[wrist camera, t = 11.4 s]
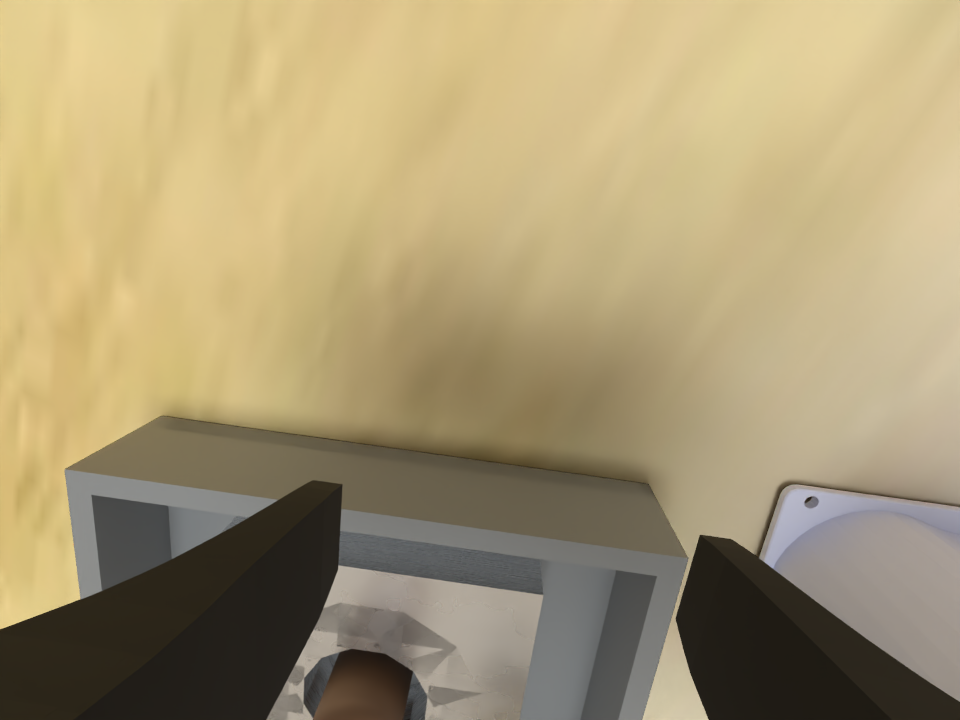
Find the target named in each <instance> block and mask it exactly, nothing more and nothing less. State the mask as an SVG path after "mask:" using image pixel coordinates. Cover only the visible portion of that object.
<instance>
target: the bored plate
mask: <svg viewBox="0 0 960 720" xmlns="http://www.w3.org/2000/svg"><path fill="white" fill-rule="evenodd" d="M247 518H249V517H243V516H236V517H235V518H234V519H233V520H232V522H231V523H230V524H229V525H228V526H227V527H226V528H225V529H224V530H223V531H222V532H224V531H226V530H228V529H230V528H231V527H233V526H235V525H237V524H238V523H240V522H242V521H244V520H245V519H247ZM222 532H221V533H222ZM542 600H543V585H542V574H541V563H540V559H535V558H528V557H521V556H514V555H507V554H500V553H493V552H486V551H479V550H472V549H465V548H458V547H451V546H444V545H437V544H430V543H423V542H417V541H410V540H403V539H396V538H389V537H382V536H375V535H368V534H361V533H354V532H347V531H340V544H339V563H338V571H337V574H336V577H335V579H334V582H333V585H332V587H331V590H330V593H329V595H328V598H327V600H326V603H325V605H324V608H323V611H322V613H321V616H320V618H319V620H318V622H317V624H316V626H315V628H314V630H313V632H312V634H311V636H310V638H309V639H308V641H307V643H306V645H305V647H304V649H303V651H302V653H301V655H300V657H299V659H298V661H297V663H296V664H295V666H294V668H293V670H292V672H291V674H290V676H289V678H288V680H287V681H286V683H285V685H284V687H283V689H282V691H281V693H280V695H279V697H278V699H277V700H276V702H275V704H274V706H273V708H272V710H271V712H270V714H269V716H268V718H267V719H266V720H313V718H314V715H315V713H316V710H317V708H318V705H319V703H320V700H321V697H322V695H323V692H324V690H325V687H326V685H327V682H328V680H329V677H330V675H331V672H332V670H333V667H334V665H335V663H334V661H333V660H332V658H331V656H330V655H332V654H335V653H339V652H342V651H345V650H349V649H358V650H364V651H371V652H378V653H385V654H387V655H388V656H390V657H392V658H393V659H395V660H396V661H398V662H399V663H401V664H403V665H404V666H406V667H407V668H409V669H410V670H412V671H414V673H415V675H416V677H417V679H418V680H419V682H418V683H415V684H412V685H410V689H409V694H408V699H407V703H406V708H405V713H404V718H403V720H519V718H520V713H521V708H522V703H523V698H524V693H525V688H526V683H527V677H528V672H529V667H530V662H531V657H532V652H533V647H534V641H535V636H536V631H537V626H538V621H539V616H540V611H541V606H542Z"/></svg>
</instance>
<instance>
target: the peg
mask: <svg viewBox="0 0 960 720" xmlns="http://www.w3.org/2000/svg"><path fill="white" fill-rule="evenodd" d="M412 675H413V671H412V670H410V669H409V668H407V667H406V666H404V665H403V664H401V663H399V662H398V661H396V660H395V659H393V658H392V657H390V656H388V655H387V654H385V653H378V652H371V651H364V650H358V649H349V650H345V651H342V652H339V654H338V657H337V659H336V662H335V665H334V667H333V670H332V672H331V675H330V677H329V680H328V682H327V685H326V687H325V690H324V692H323V695H322V697H321V700H320V703H319V705H318V708H317V710H316V713H315V715H314V718H313V720H403V718H404V713H405V708H406V703H407V699H408V694H409V689H410V685H411V680H412Z"/></svg>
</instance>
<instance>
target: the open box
mask: <svg viewBox="0 0 960 720" xmlns="http://www.w3.org/2000/svg"><path fill="white" fill-rule="evenodd" d="M65 477H66V485H67V493H68V501H69V509H70V517H71V525H72V533H73V541H74V549H75V557H76V565H77V573H78V581H79V589H80V597H81V599H83V598H86V597H88V596H91V595H93V594H96V593H98V592H100V591H103V590H105V589H107V588H110V587H112V586H114V585H117V584H119V583H121V582H123V581H126V580H128V579H130V578H133V577H135V576H137V575H139V574H142V573H144V572H146V571H148V570H150V569H152V568H154V567H157V566H159V565H161V564H163V563H165V562H167V561H169V560H171V559H173V558H175V557H177V556H179V555H181V554H183V553H185V552H186V551H188V550H190V549H192V548H194V547H196V546H198V545H200V544H202V543H203V542H205V541H207V540H209V539H211V538H213V537H215V536H217V535H219V534H220V533H221V532H222V531H223V530H224V529H225V528H226V527H227V526H228V525H229V524H230V523H231V522H232V520H233V519H234V518H235V517H236V516H243V517H250V516H252V515H254V514H255V513H257V512H259V511H261V510H262V509H264V508H266V507H267V506H269V505H271V504H272V503H274V502H276V501H277V500H279V499H281V498H282V497H284V496H286V495H287V494H289V493H291V492H292V491H294V490H296V489H298V488H299V487H301V486H303V485H304V484H306V483H308V482H310V481H312V480H317V481H324V482H331V483H338V484H343V486H342V505H341V525H340V531H347V532H354V533H361V534H368V535H375V536H382V537H389V538H396V539H403V540H410V541H417V542H423V543H430V544H437V545H444V546H451V547H458V548H465V549H472V550H479V551H486V552H493V553H500V554H507V555H514V556H521V557H528V558H535V559H540V563H541V574H542V585H543V600H542V606H541V611H540V616H539V621H538V626H537V631H536V636H535V641H534V647H533V652H532V657H531V662H530V667H529V672H528V677H527V683H526V688H525V693H524V698H523V703H522V708H521V713H520V718H519V720H642V718H643V715H644V711H645V708H646V704H647V701H648V697H649V694H650V690H651V687H652V683H653V680H654V676H655V673H656V669H657V666H658V663H659V659H660V656H661V652H662V649H663V645H664V642H665V638H666V635H667V631H668V628H669V624H670V621H671V617H672V614H673V610H674V607H675V603H676V600H677V596H678V593H679V590H680V586H681V583H682V579H683V576H684V572H685V569H686V565H687V562H688V557H687V555H686V553H685V551H684V549H683V547H682V546H681V544H680V542H679V540H678V538H677V536H676V534H675V533H674V531H673V529H672V527H671V525H670V523H669V521H668V520H667V518H666V516H665V514H664V512H663V510H662V508H661V507H660V505H659V503H658V501H657V499H656V497H655V495H654V494H653V492H652V490H651V488H650V486H649V484H644V483H637V482H630V481H623V480H616V479H609V478H601V477H594V476H587V475H580V474H573V473H566V472H559V471H551V470H544V469H537V468H530V467H523V466H516V465H508V464H501V463H494V462H487V461H480V460H473V459H466V458H458V457H451V456H444V455H437V454H430V453H423V452H416V451H408V450H401V449H394V448H387V447H380V446H373V445H366V444H358V443H351V442H344V441H337V440H330V439H323V438H316V437H308V436H301V435H294V434H287V433H280V432H273V431H266V430H258V429H251V428H244V427H237V426H230V425H223V424H216V423H208V422H201V421H194V420H187V419H180V418H173V417H166V416H160V417H158V418H156V419H155V420H153V421H151V422H149V423H147V424H146V425H144V426H142V427H140V428H138V429H137V430H135V431H133V432H131V433H129V434H128V435H126V436H124V437H122V438H120V439H119V440H117V441H115V442H113V443H111V444H109V445H108V446H106V447H104V448H102V449H100V450H99V451H97V452H95V453H93V454H91V455H90V456H88V457H86V458H84V459H82V460H81V461H79V462H77V463H75V464H73V465H71V466H70V467H68V468H66V469H65ZM338 654H339V653H335V654H332V655H330V656H331V658H332V660H333V661H334V663H335V662H336V659H337V657H338ZM418 682H419V680H418V679H417V677H416V675H415V673H414V671H413V675H412V680H411V685H412V684H415V683H418Z"/></svg>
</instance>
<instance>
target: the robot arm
mask: <svg viewBox="0 0 960 720" xmlns="http://www.w3.org/2000/svg"><path fill="white" fill-rule="evenodd" d="M342 486H343V484H338V483H331V482H324V481H317V480H312V481H310V482H308V483H306V484H304V485H303V486H301V487H299V488H298V489H296V490H294V491H292V492H291V493H289V494H287V495H286V496H284V497H282V498H281V499H279V500H277V501H276V502H274V503H272V504H271V505H269V506H267V507H266V508H264V509H262V510H261V511H259V512H257V513H255V514H254V515H252V516H250V517H249V518H247V519H245V520H244V521H242V522H240V523H238V524H237V525H235V526H233V527H231V528H230V529H228V530H226V531H224V532H222V533H220V534H219V535H217V536H215V537H213V538H211V539H209V540H207V541H205V542H203V543H202V544H200V545H198V546H196V547H194V548H192V549H190V550H188V551H186V552H185V553H183V554H181V555H179V556H177V557H175V558H173V559H171V560H169V561H167V562H165V563H163V564H161V565H159V566H157V567H154V568H152V569H150V570H148V571H146V572H144V573H142V574H139V575H137V576H135V577H133V578H130V579H128V580H126V581H123V582H121V583H119V584H117V585H114V586H112V587H110V588H107V589H105V590H103V591H100V592H98V593H96V594H93V595H91V596H88V597H86V598H83V599H81V600H78V601H75V602H73V603H70V604H67V605H65V606H62V607H59V608H57V609H54V610H51V611H49V612H46V613H43V614H41V615H38V616H35V617H33V618H30V619H27V620H25V621H22V622H19V623H17V624H14V625H11V626H9V627H6V628H3V629H0V720H266V719H267V718H268V716H269V714H270V712H271V710H272V708H273V706H274V704H275V702H276V700H277V699H278V697H279V695H280V693H281V691H282V689H283V687H284V685H285V683H286V681H287V680H288V678H289V676H290V674H291V672H292V670H293V668H294V666H295V664H296V663H297V661H298V659H299V657H300V655H301V653H302V651H303V649H304V647H305V645H306V643H307V641H308V639H309V638H310V636H311V634H312V632H313V630H314V628H315V626H316V624H317V622H318V620H319V618H320V616H321V613H322V611H323V608H324V605H325V603H326V600H327V598H328V595H329V593H330V590H331V587H332V585H333V582H334V579H335V577H336V574H337V571H338V563H339V544H340V525H341V505H342ZM811 496H812V499H811V500H810V501H809V502H807V503H804V501H805V500H806V498H808V497H811ZM676 622H677V626H678V630H679V634H680V637H681V641H682V645H683V649H684V653H685V656H686V660H687V663H688V667H689V670H690V673H691V676H692V679H693V681H694V684H695V686H696V689H697V691H698V694H699V696H700V699H701V701H702V704H703V706H704V709H705V711H706V714H707V716H708V719H709V720H960V507H956V506H949V505H941V504H934V503H927V502H920V501H913V500H905V499H898V498H891V497H884V496H877V495H869V494H862V493H855V492H848V491H841V490H834V489H826V488H819V487H812V486H805V485H798V484H795V485H790V486H787V487H786V488H784V489H783V490H782V492H781V494H780V497H779V500H778V503H777V506H776V509H775V512H774V515H773V518H772V521H771V524H770V527H769V530H768V533H767V536H766V539H765V541H764V544H763V547H762V550H761V553H760V556H759V558H758V557H757V556H755V555H754V554H752V553H751V552H750V551H748V550H747V549H745V548H744V547H742V546H741V545H739V544H738V543H736V542H735V541H733V540H731V539H726V538H719V537H712V536H705V535H700V537H699V540H698V544H697V547H696V550H695V554H694V557H693V561H692V564H691V568H690V571H689V575H688V578H687V581H686V585H685V588H684V592H683V595H682V599H681V602H680V606H679V609H678V612H677V616H676Z"/></svg>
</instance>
